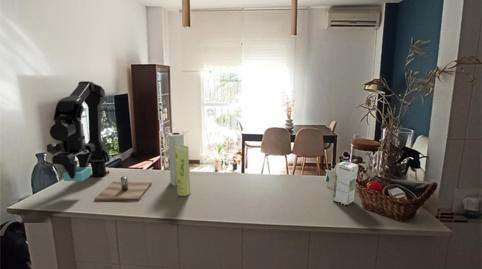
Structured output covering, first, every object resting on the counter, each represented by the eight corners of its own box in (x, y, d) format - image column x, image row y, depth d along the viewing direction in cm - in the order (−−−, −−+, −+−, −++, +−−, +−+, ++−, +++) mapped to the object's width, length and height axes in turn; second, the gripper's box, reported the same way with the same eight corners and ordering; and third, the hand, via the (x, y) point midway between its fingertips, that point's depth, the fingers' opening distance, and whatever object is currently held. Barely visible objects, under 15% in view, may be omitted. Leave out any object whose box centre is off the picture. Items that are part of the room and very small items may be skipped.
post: (123, 188, 116) (122, 176, 115) (129, 188, 116) (128, 176, 115) (120, 190, 114) (119, 178, 113) (126, 190, 114) (125, 178, 113)
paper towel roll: (178, 178, 129) (176, 131, 125) (188, 182, 126) (186, 133, 121) (165, 183, 124) (162, 134, 119) (175, 187, 120) (173, 136, 116)
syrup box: (339, 197, 112) (343, 160, 109) (354, 202, 108) (358, 164, 105) (332, 201, 108) (335, 163, 105) (347, 206, 104) (351, 167, 101)
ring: (74, 174, 114) (73, 167, 113) (91, 174, 114) (90, 167, 113) (64, 180, 107) (63, 173, 107) (82, 181, 107) (81, 173, 107)
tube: (174, 196, 111) (172, 146, 107) (176, 191, 116) (174, 143, 112) (189, 196, 112) (188, 146, 107) (191, 191, 116) (189, 143, 112)
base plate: (113, 184, 123) (113, 181, 123) (151, 184, 123) (151, 182, 123) (94, 200, 107) (94, 198, 107) (138, 201, 107) (138, 198, 107)
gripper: (65, 129, 116) (70, 167, 119) (33, 140, 98) (39, 184, 101) (94, 129, 116) (97, 167, 119) (66, 140, 98) (71, 184, 101)
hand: (77, 175), depth 110 cm, fingers closed on ring, 7 cm apart
